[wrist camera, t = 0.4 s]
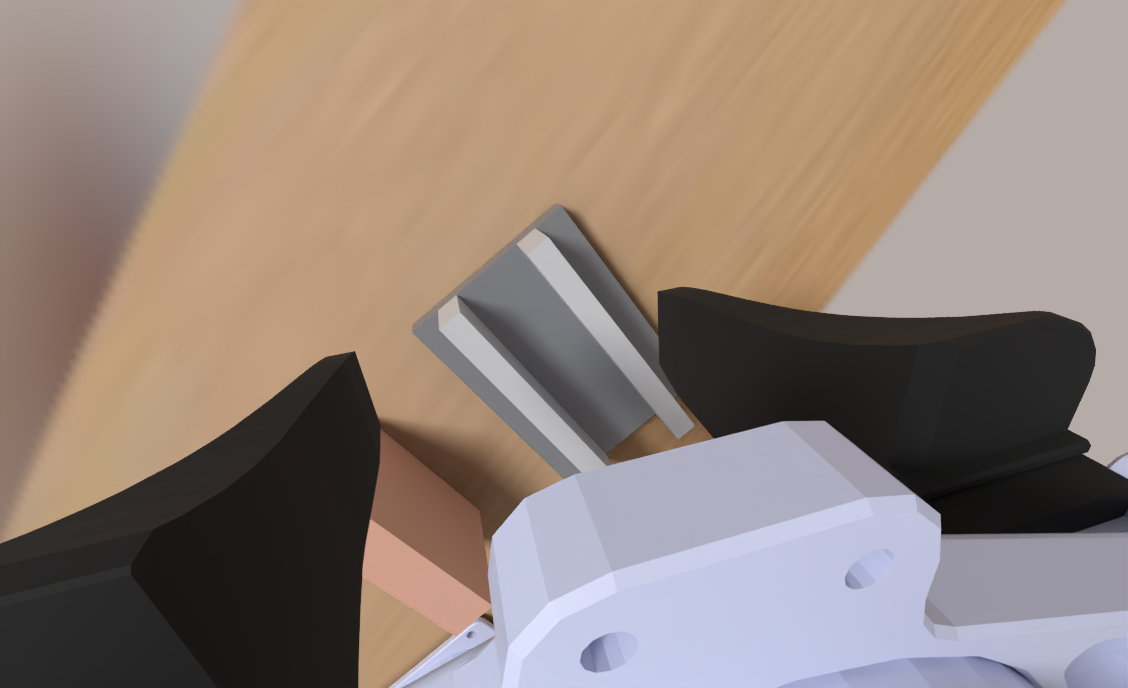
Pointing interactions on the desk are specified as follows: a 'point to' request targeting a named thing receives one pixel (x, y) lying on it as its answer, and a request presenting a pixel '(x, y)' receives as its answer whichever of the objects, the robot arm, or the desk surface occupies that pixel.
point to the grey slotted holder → (555, 347)
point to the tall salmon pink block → (425, 542)
